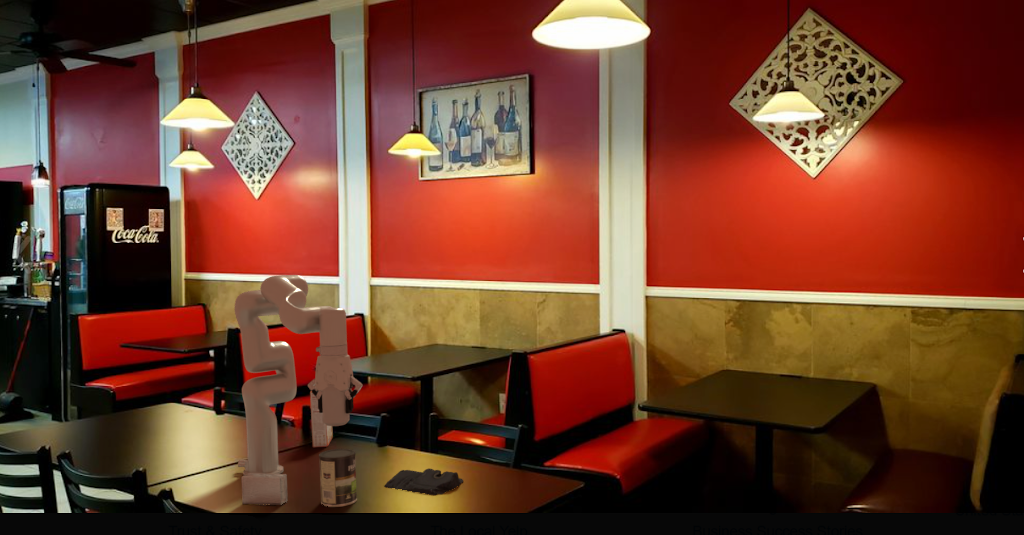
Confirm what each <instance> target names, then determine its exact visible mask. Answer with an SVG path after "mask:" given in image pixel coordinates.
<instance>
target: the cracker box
mask: <svg viewBox="0 0 1024 535" xmlns="http://www.w3.org/2000/svg"><path fill="white" fill-rule="evenodd" d="M309 398H310V400H309V401H310V413H311V414H310V416H311V417H310V418H311V436H312V437H311V438H312V448H327V447H329V445H330V443H331V442H332V439H333V435H334V433H333V426H327V425H326V424H325V423H323V413H319V409H318V399H316V396H315V395H314V394H313V393H312V391H311V390H310V392H309Z"/></svg>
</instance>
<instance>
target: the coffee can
mask: <svg viewBox="0 0 1024 535" xmlns="http://www.w3.org/2000/svg"><path fill="white" fill-rule="evenodd" d="M356 453H357V452H356V451H355V450H354V449H350V448H335V449H328V450H325V451H322V452H320V453H319V454H318V458H319V477H320V478H319V479H320V504H321V505H322V504H323V505H324V507H327V506H328V508H339V507H340V508H341V507H346V506H347V507H348V506H350V505H353V504H355V503H356V502H357V501H358V497H357V496H358V495H357V493H358V492H357V475H356V474H357V470H356V468H357V466H356ZM323 505H322V506H323Z"/></svg>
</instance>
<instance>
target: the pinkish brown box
mask: <svg viewBox="0 0 1024 535" xmlns="http://www.w3.org/2000/svg"><path fill="white" fill-rule="evenodd" d="M287 476H288V475H287V474H286V473H281V474H266V473H248V474H247V476H244V475H243V476H241V497H242V501H241V502H242V505H243V504H258V505H257V506H266V504H267V505H268V504H270V505H282V504H283V503H285V502H286V503H288V502H289V500H288V497H289V496H288V477H287ZM287 501H288V502H287ZM286 503H285V504H286ZM259 504H260V505H259ZM263 504H264V505H263ZM283 505H284V504H283ZM283 505H282V506H283Z"/></svg>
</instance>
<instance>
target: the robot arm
mask: <svg viewBox="0 0 1024 535" xmlns="http://www.w3.org/2000/svg"><path fill="white" fill-rule="evenodd" d="M308 293H309V285H308V282H307V280H306V279H305V278H304V277H303V276H301V275H298V274H289V275H288V274H287V275H271V276H269V277H267V278H265V279H264V280H263V281H262V282H261V284H260V289H257V290H247V291H244V292H242V293H240V294H238V296H237V297H236V299H235V302H234V315H235V319H236V322H237V324H238V326H239V330H240V335H241V346H242V347H241V348H242V355H243V364H244V367H245V369H246V371H247V372H248V373H251V374H252V373H253V374H258V373H266V372H272V371H275V373H276V374H271V375H269V374H268V375H262V376H256V377H252V378H250V379H248V380H246V381H245V382H244V383H243V385H242V387H241V395H242V399H243V404H244V409H245V410H244V411H245V419H246V420H245V421H246V422H245V424H246V442H247V443H246V445H247V459H239V460H238V461H237V462H238V463H237V467H238V468H244V470H243V474H242V475H243V476H247V474H248V473H266V474H283V473H284V471H285V470H284V468H285V467H284V466H282V465H280V464H279V443H278V442H279V441H278V437H279V436H278V420H277V416H276V414H275V412H274V411H273V410H272V409H271V407H270V406H271V405H276V404H281V403H287V402H290V401H292V400H293V399H294V398H295V397H296V395H297V389H298V388H297V377H296V376H297V375H296V366H295V365H296V364H295V358H294V353H293V350H292V347H291V345H290V344H289V343H287V342H286V341H282V340H278V341H277V340H276V341H270V336H269V334H270V333H269V327H268V326H267V324H266V323H265V321H263V319H262V318H260V317H265V316H266V317H267V316H268V317H269V316H277V315H278V316H279V320H280V322H281V324H282V325H283V326H284V327H285V328H287V330H288V331H290V332H292V333H295V334H297V335H303V334H311V333H312V334H313V333H319V346H317V347H316V348H315V352H318V353H319V355H318V356H317V360H316V365H315V378H313V379H312V380H311V381H310V382H308V384H307V387H308V388H309V390H310V392H311V391H312V393H313V394H314V395H315V396H316V399H318V409H319V413H323V409H322V391H323V389H325V388H327V387H328V386H327V385H335V386H334V387H335V388H337V389H338V390H339V391H341V392H344V391H345V395H346V397H347V400H346V413H348V414H349V415H350V413H352V412H353V410H354V398H355V397H356V396H357V395H358V394H359V392H360V391H361V389H362V387H363V383H362V382H361V381H359V380H358V379H357V378H355V377H354V372H353V364H352V360H351V356H350V355H349V354H348V342H347V340H348V338H347V337H348V336H347V335H348V333H347V331H348V330H347V313H346V310H345V309H344V308H342V307H332V306H330V305H321V306H320V305H319V306H307V307H306V305H307V304H306V303H307V296H308ZM352 388H354V389H353V390H352Z"/></svg>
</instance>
